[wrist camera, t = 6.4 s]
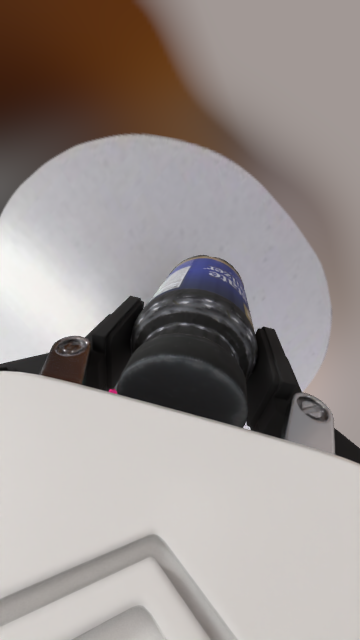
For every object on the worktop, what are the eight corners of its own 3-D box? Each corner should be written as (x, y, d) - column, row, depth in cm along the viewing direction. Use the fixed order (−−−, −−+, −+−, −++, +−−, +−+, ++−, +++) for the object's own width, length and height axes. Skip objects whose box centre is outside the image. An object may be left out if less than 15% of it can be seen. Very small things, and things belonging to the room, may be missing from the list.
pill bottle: (259, 297, 16) (313, 433, 7) (199, 336, 19) (177, 472, 9) (208, 234, 15) (184, 294, 5) (151, 287, 17) (66, 390, 8)
